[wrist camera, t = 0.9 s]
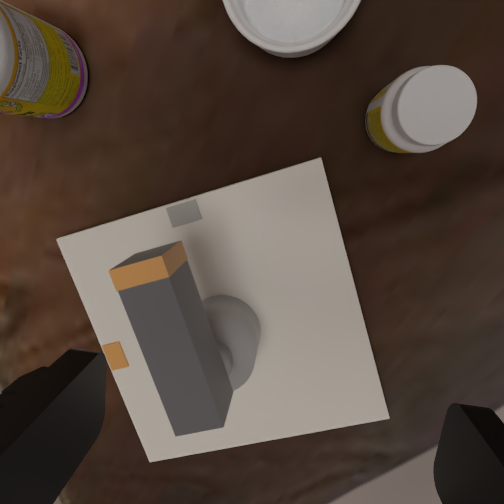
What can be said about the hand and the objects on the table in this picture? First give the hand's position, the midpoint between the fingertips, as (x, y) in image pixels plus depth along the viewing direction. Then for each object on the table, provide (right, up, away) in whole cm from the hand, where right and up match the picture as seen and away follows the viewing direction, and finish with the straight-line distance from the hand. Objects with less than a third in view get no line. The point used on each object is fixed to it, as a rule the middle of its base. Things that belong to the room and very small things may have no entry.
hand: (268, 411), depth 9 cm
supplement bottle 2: (+10, +13, +20) cm, 26 cm away
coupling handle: (-4, 0, +18) cm, 19 cm away
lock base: (-2, -2, +25) cm, 25 cm away
